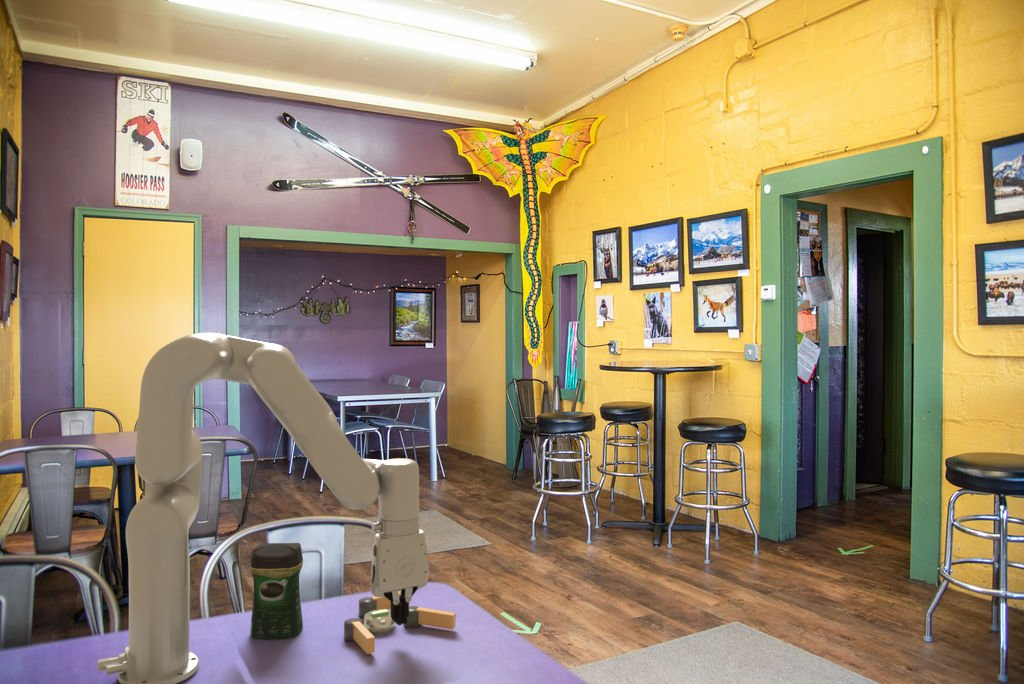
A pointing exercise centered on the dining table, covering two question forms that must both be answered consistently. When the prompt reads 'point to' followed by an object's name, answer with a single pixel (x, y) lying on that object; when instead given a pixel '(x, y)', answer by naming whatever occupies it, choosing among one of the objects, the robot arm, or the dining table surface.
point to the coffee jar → (276, 591)
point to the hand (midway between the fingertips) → (399, 621)
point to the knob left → (359, 634)
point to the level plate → (379, 621)
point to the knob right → (430, 618)
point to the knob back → (373, 604)
